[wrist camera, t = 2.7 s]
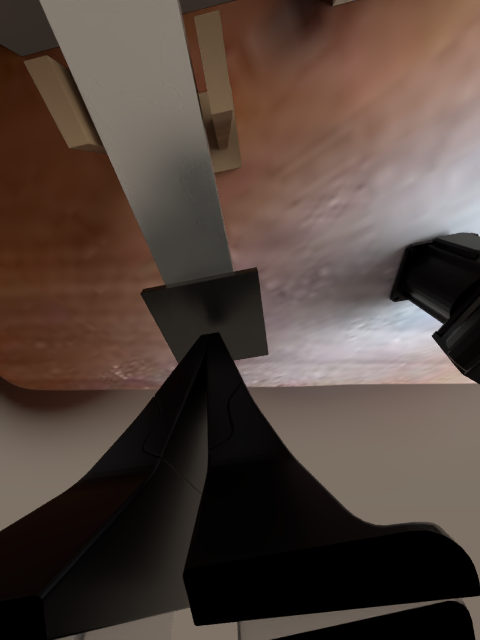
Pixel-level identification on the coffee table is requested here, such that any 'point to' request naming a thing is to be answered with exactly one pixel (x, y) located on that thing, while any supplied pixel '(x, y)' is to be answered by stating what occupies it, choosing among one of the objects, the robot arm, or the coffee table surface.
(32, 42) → the chute
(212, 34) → the lever stand
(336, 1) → the cream square tray
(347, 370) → the coffee table surface
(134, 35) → the lever
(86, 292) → the coffee table surface
